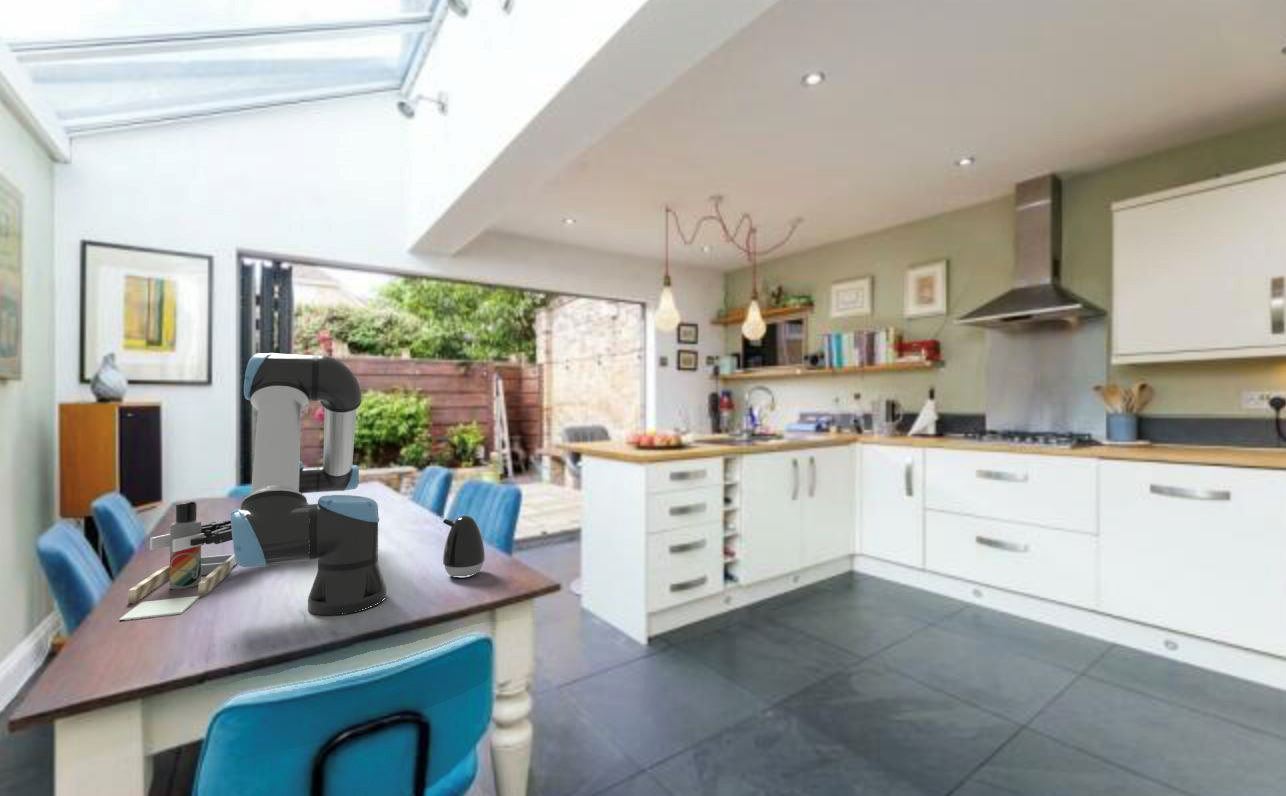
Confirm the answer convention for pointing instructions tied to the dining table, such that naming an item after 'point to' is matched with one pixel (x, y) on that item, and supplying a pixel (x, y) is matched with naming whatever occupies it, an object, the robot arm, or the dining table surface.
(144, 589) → the oak channel
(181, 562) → the lotion bottle
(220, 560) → the pit bin
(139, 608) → the pad
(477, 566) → the pump dispenser
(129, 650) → the dining table surface
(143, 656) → the dining table surface
